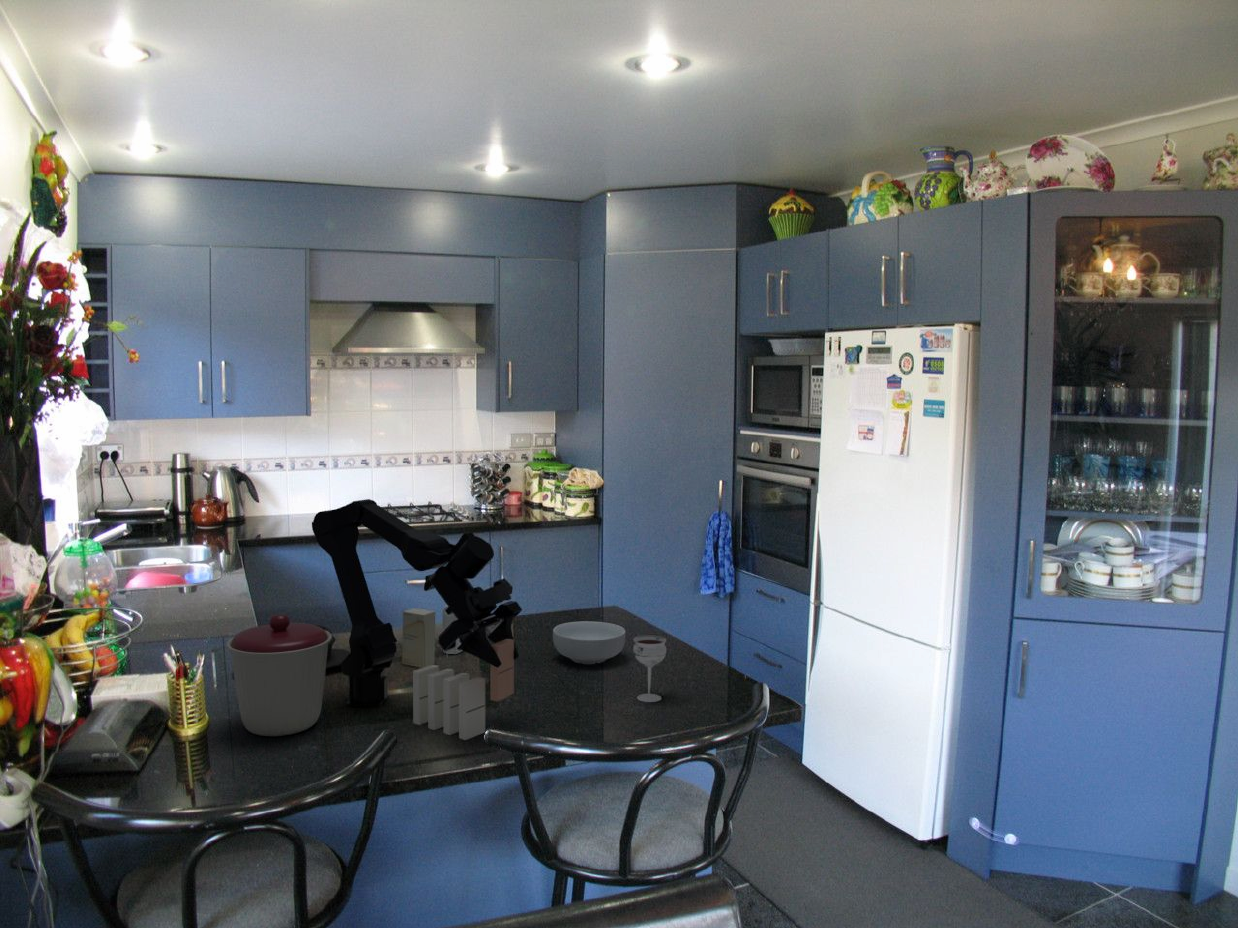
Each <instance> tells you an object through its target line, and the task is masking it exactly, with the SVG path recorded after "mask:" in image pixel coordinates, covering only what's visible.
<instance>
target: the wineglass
mask: <svg viewBox="0 0 1238 928" xmlns="http://www.w3.org/2000/svg"><path fill="white" fill-rule="evenodd" d="M633 642H634V645H633V648H632V653H633V656H634V658H635V659H636V660H637V661H638V662H639V663H640V664H642V665H644V666H645V668H647V693H642V694H639V695H638V696H636V699H637V700H638V701H640V702H645V703H655V702H659V701H661V700H662V697H661V695H658V694H655V693H651V685H652V683H651V682H652V668H653V667H655V665H656V666H657V665H658V664H660V663H661V662H662V661H663V660H664V659H665V657H666V654H667V650H668V649H667V646H666V645H665V644H666V642H667V639H666V638H665V637H663V636H658V635H651V634H650V635H649V634H648V635H639V636H636V637H634V638H633Z"/></svg>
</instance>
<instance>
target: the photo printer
mask: <svg viewBox="0 0 1238 928" xmlns="http://www.w3.org/2000/svg"><path fill="white" fill-rule="evenodd" d="M447 608H448V606H447V604H446V605H445V606H444V608H443V609H442V615H441V616H442V632H443V631H444V630H445V629H446V628H447V627H448V626H449V625H450V624H451V623H452V622H453V621H455V620H458V619H457V618H456V617H455V615H454V614H453V613H452V614H450V615H448V614H447V613H446V611H445V610H446V609H447ZM459 640H460V639H459V638H458V639H457V640H456V646H455V647H454V648H453V649H450V650H448V651H444V650H443V649H442V652H443V653H444V654H445V653H446V654H445V655H448V654H455V655H458V654H459V653H462V652H464V651H463V650H460V651H459V650H458V649H457V648H458V647H459V646H460V645H461V643H460V641H459Z"/></svg>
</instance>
